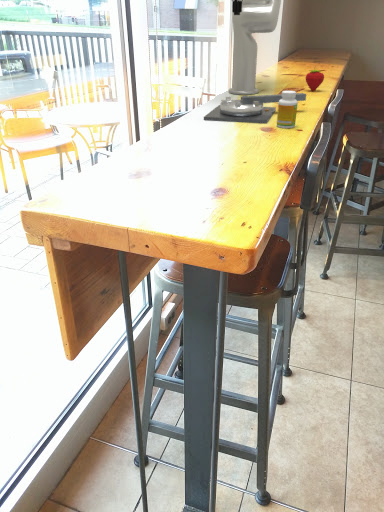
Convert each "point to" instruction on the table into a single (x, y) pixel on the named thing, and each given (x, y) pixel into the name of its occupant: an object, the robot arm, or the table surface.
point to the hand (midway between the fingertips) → (236, 14)
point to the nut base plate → (260, 118)
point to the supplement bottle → (287, 110)
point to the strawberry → (314, 79)
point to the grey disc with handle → (251, 104)
